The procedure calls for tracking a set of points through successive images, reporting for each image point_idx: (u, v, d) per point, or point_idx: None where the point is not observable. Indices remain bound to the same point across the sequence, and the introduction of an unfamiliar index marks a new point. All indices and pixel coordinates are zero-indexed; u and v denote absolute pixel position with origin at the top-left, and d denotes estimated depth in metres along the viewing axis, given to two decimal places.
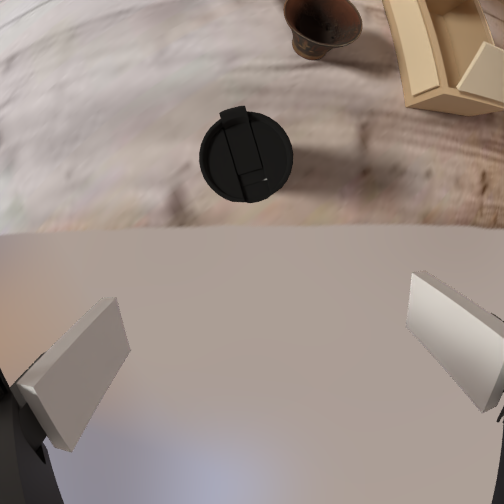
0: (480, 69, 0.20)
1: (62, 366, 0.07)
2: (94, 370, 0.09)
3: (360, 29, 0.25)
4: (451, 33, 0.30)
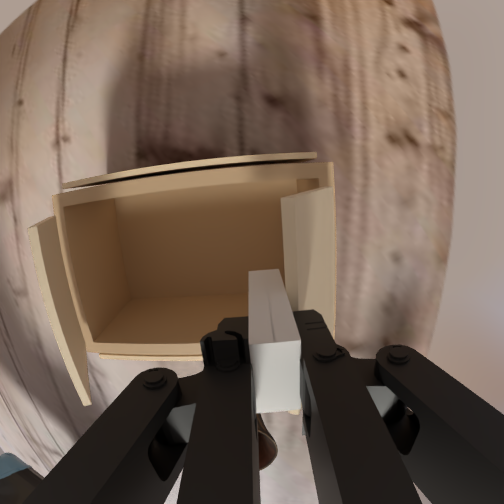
0: None
1: None
2: None
3: None
4: None
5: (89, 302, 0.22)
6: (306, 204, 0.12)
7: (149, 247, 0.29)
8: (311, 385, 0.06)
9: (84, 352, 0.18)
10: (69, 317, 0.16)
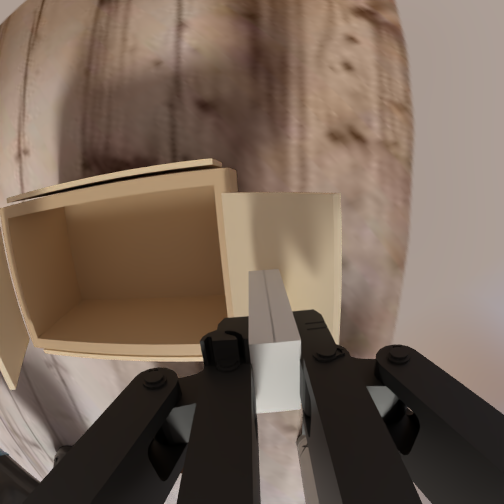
0: None
1: None
2: None
3: None
4: None
5: (34, 302, 0.22)
6: None
7: (94, 252, 0.29)
8: (311, 385, 0.06)
9: (23, 346, 0.18)
10: (5, 314, 0.16)
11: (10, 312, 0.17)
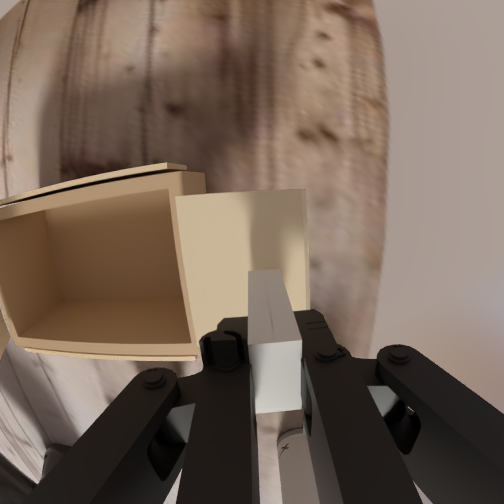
0: None
1: None
2: None
3: None
4: None
5: (14, 302, 0.22)
6: None
7: (72, 254, 0.29)
8: (312, 385, 0.06)
9: (2, 343, 0.18)
10: None
11: None
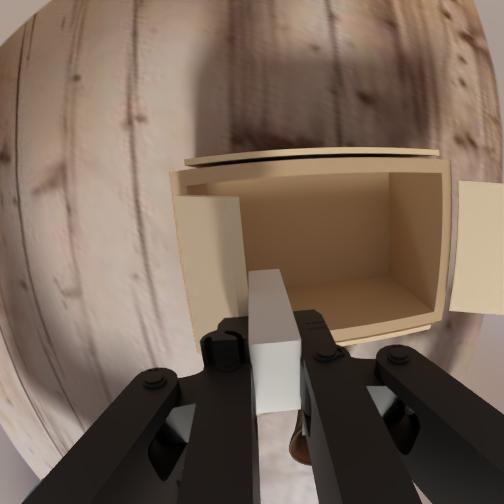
0: None
1: None
2: None
3: None
4: None
5: None
6: None
7: (245, 237, 0.29)
8: (311, 385, 0.06)
9: None
10: None
11: None
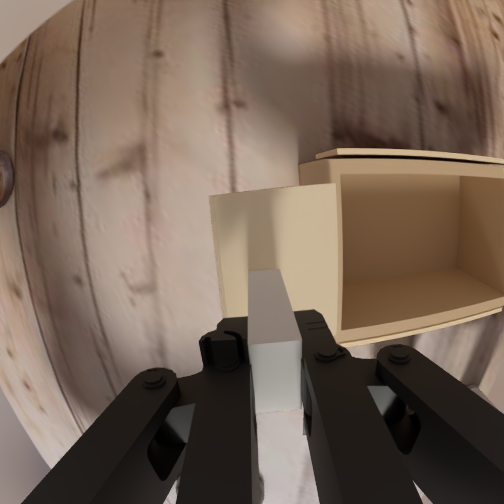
0: None
1: None
2: None
3: None
4: None
5: None
6: None
7: (345, 230, 0.29)
8: (312, 385, 0.06)
9: None
10: None
11: (307, 298, 0.17)
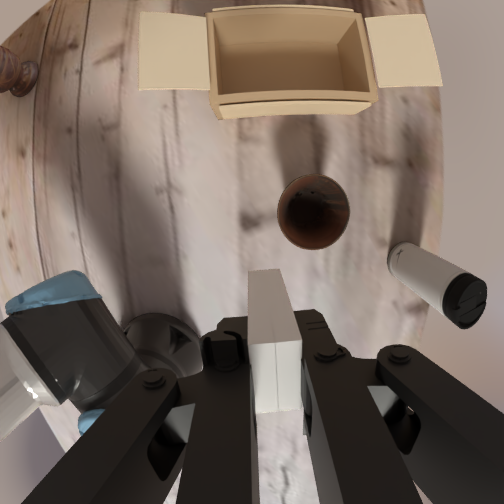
0: None
1: None
2: None
3: (325, 177, 0.34)
4: (247, 41, 0.36)
5: (217, 74, 0.31)
6: None
7: (243, 75, 0.38)
8: (312, 385, 0.06)
9: (188, 83, 0.28)
10: (173, 55, 0.26)
11: (186, 59, 0.27)
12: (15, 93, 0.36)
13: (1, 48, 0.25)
